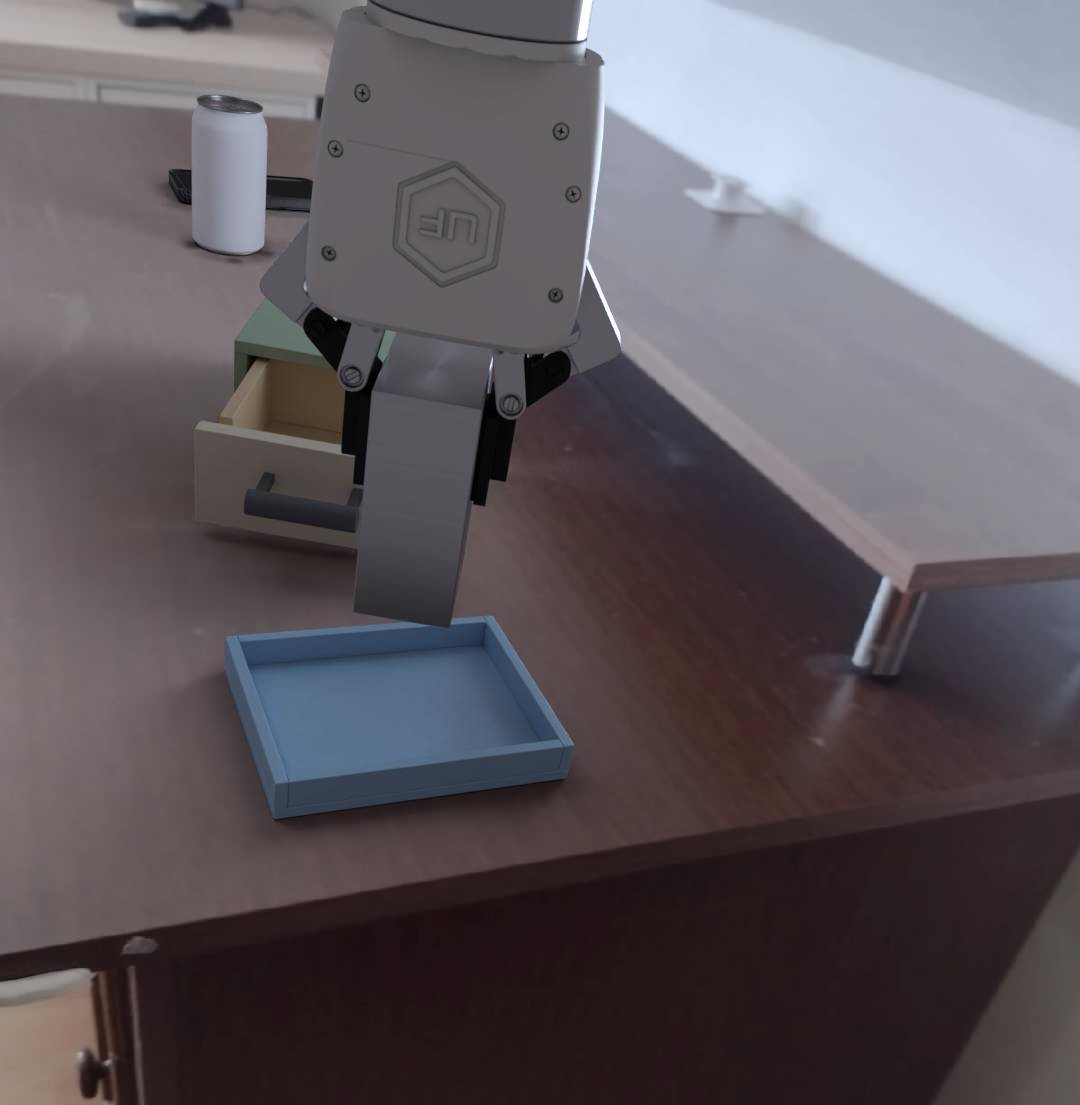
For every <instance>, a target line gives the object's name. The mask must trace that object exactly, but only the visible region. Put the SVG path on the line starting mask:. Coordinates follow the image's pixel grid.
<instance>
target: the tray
mask: <svg viewBox="0 0 1080 1105" xmlns="http://www.w3.org/2000/svg"><path fill="white" fill-rule="evenodd" d="M224 673H225V675H226V678H227V681H228V684H229V688H230V690H231V691H230V692H231V694H232V697H233V700H234V703H235V706H236V709H237V712H238V715H239V718H240V721H241V724H242V727H243V730H244V733H245V736H246V739H247V743H248V746H249V749H250V752H251V755H252V757H253V761H254V764H255V766H256V770H257V774H258V776H259V779H260V782H261V785H262V788H263V791H264V794H265V797H266V801H267V803H268V806H269V810H270V813H271V815H272V818H273V820H279V819H286V818H293V817H294V818H295V817H300V816H301V817H302V816H308V815H315V814H323V813H331V812H337V811H344V810H351V809H358V808H364V807H365V808H367V807H371V806H380V805H386V804H393V803H401V802H408V801H415V800H422V799H429V798H437V797H442V796H450V795H456V794H464V793H471V792H472V793H473V792H479V791H484V790H485V791H486V790H487V791H488V790H493V789H500V788H508V787H515V786H522V785H528V784H534V783H542V782H549V781H555V780H556V781H557V780H565V779H568V776H569V775H568V774H569V772H570V771H569V770H570V767H571V763H572V758H573V754H574V749H575V743H574V742H573V740H572V738H571V737H570V735H569V734H568V732H567V731H566V729H565V728H564V726H563V724H562V723H561V721H560V720H559V718H558V717H557V715H556V714H555V712H554V711H553V709H552V707H551V705H550V704H549V702H548V701H547V699H546V698H545V696H544V694H543V693H542V691H541V689H540V688H539V686H538V685H537V683H536V682H535V680H534V678H533V677H532V675H531V674H530V672H529V671H528V669H527V667H526V666H525V664H524V662H523V661H522V660H521V658H520V657H519V655H518V653H517V652H516V650H515V648H514V647H513V645H512V643H511V642H510V641H509V639H508V637H507V636H506V634H505V632H504V631H503V630H502V627H501V626H500V625H499V623H498V622H497V620H496V618H495V617H494V616H493V615H478V616H477V615H476V616H466V617H464V616H463V617H454V618H453V617H452V620H451V625H450V628H449V629H446V628H440V627H434V626H428V625H422V624H416V623H410V622H404V621H400V622H389V623H387V622H386V623H376V624H363V625H351V626H338V627H325V628H312V629H301V630H300V629H299V630H287V631H275V632H273V631H272V632H260V633H250V634H249V633H247V634H238V635H226V636H225V637H224Z"/></svg>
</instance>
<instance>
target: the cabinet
mask: <svg viewBox="0 0 1080 1105" xmlns="http://www.w3.org/2000/svg"><path fill="white" fill-rule="evenodd" d="M395 334H396V332H394V331H388V330H386V332H385V335H384V339H383V342H382V345H381V348H380V351H379V354H378V357H379V359H380V360H381V361H382V362H383V363H384V361H385V358H386V356H387V353H388V351H389V349H390V346H391V344H392V341H393V339H394V336H395ZM233 342H234V346H233V347H234V348H233V350H234V353H233V354H234V355H233V356H234V357H233V394H234V393H235V391H236V390H237V388H238V387H239V385H240V384H241V382H242V380H243V379H244V377H245V376H246V374H247V373H248V371H249V370H250V368H251V367H252V365H253V364H254V362H255V361H256V359H257V358H258V356H259V357H265V358H270V359H276V360H281V361H287V362H292V363H298V364H303V365H309V366H314V367H320V368H325V369H331V370H334V369H333V368H332V366H331V365H330V364H329V363H328V361H327V360H326V359H325V358H324V357H323V355H322V354H321V353H320V352H319V350H318V349H317V348H316V347H315V346H314V344H313V343H312V342H311V341H310V339H309V338H308V337H307V336H306V334H305V332H304V329H303V328H302V327H301V326H300V325H298V324H297V323H294V322H293V321H292V320H291V319H290V318H289V317H287V316H286V315H285V314H284V313H283V312H282V311H281V310H280V309H278V308H277V307H276V306H275V305H274V304H273V303H272V302H271V301H269V300H268V299H267V298H266V297H265V296H264V298H263V300H262V301H261V303H260V304H259V305H258V307H257V309H255V311H254V312H253V314H252V315H251V316H250V318H249V320H248V321H247V322H246V323H245V325H244V326H243V328H242V329H241V331H240V332H239V333H238V335H237V336H236V337H235V339H234V341H233Z"/></svg>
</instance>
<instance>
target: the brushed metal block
mask: <svg viewBox="0 0 1080 1105" xmlns="http://www.w3.org/2000/svg"><path fill="white" fill-rule="evenodd" d="M492 372H493V357H492V349H488V348H482V347H476V346H471V345H465V344H459V343H454V342H448V341H443V340H437V339H432V338H426V337H421V336H415V335H410V334H404V333H399V332H396V334H395V336H394V339H393V341H392V344H391V346H390V349H389V351H388V353H387V356H386V358H385V361H384V363H383V365H382V368H381V370H380V373H379V375H378V377H377V380H376V382H375V385H374V387H373V389H372V393H371V405H370V416H369V428H368V439H367V451H366V462H365V474H364V485H363V497H362V508H361V520H360V531H359V542H358V549H357V557H356V566H355V578H354V590H353V601H352V613H353V614H357V615H364V616H370V617H374V618H380V619H387V620H393V621H400V622H410V623H416V624H422V625H428V626H434V627H440V628H446V629H449V628H450V625H451V620H452V618H453V615H454V609H455V605H456V599H457V594H458V589H459V585H460V584H459V583H460V578H461V574H462V568H463V563H464V558H465V553H466V547H467V540H468V534H469V526H470V520H471V513H472V508H473V507H472V506H473V501H470V497H471V490H472V483H473V476H474V470H475V463H476V456H477V449H478V443H479V436H480V429H481V422H482V417H483V412H484V407H485V402H486V397H487V393H489V392H490V386H491V381H492V380H491V379H492ZM489 394H490V393H489Z"/></svg>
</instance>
